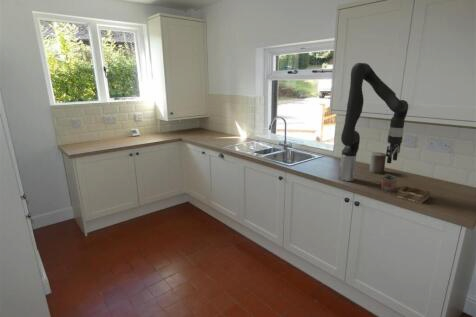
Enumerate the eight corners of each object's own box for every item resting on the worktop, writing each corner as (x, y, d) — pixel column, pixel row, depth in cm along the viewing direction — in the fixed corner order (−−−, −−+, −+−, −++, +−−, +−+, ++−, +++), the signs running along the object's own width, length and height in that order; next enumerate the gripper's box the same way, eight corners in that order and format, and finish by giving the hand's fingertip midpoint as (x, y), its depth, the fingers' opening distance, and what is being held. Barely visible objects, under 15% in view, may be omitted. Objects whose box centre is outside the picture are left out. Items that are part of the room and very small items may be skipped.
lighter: (379, 189, 178) (381, 173, 175) (381, 187, 180) (383, 172, 178) (393, 192, 173) (396, 177, 170) (395, 191, 175) (398, 175, 172)
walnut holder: (396, 196, 167) (397, 190, 166) (404, 190, 175) (405, 185, 174) (421, 203, 158) (422, 197, 157) (428, 197, 166) (430, 191, 165)
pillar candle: (386, 172, 208) (389, 152, 205) (377, 174, 204) (380, 154, 201) (375, 169, 217) (377, 149, 213) (366, 170, 213) (368, 151, 209)
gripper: (393, 132, 175) (390, 158, 179) (383, 135, 165) (380, 162, 170) (407, 134, 169) (403, 160, 173) (397, 137, 160) (393, 165, 164)
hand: (391, 161), depth 172 cm, fingers open, 8 cm apart
